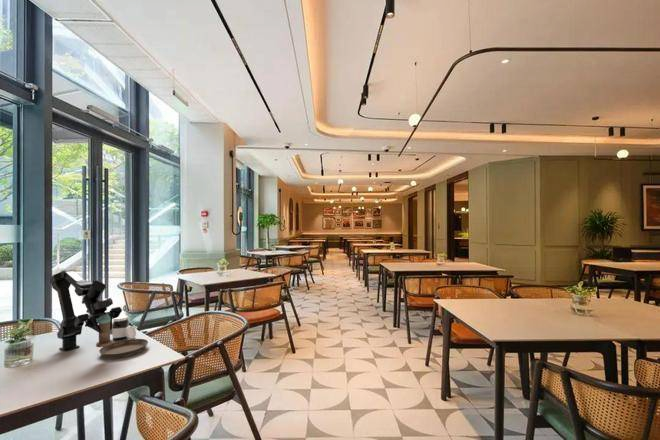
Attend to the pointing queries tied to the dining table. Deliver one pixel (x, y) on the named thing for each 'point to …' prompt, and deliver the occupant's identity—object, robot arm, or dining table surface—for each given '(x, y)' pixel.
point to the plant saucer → (123, 348)
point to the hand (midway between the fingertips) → (106, 330)
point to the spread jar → (122, 329)
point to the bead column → (104, 331)
